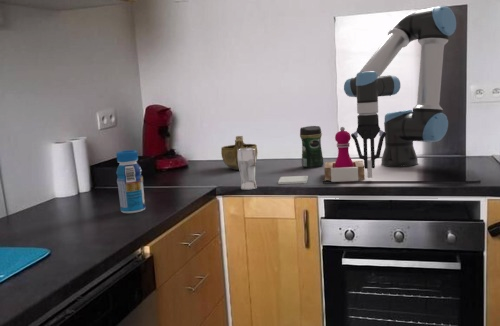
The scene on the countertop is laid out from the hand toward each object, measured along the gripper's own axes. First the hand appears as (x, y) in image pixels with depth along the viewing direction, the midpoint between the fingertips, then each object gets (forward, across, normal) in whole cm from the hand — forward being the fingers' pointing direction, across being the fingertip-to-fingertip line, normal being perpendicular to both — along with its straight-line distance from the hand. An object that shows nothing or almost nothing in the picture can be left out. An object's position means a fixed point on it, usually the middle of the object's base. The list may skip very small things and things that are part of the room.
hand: (369, 176), depth 185 cm
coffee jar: (+2, +23, -37) cm, 44 cm away
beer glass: (+2, +45, +6) cm, 46 cm away
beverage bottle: (+2, +80, +36) cm, 87 cm away
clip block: (+1, +9, -9) cm, 13 cm away
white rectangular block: (+1, +9, 0) cm, 9 cm away
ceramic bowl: (+2, +57, -39) cm, 69 cm away
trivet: (+2, +29, -5) cm, 30 cm away
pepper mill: (+2, +9, -9) cm, 13 cm away
